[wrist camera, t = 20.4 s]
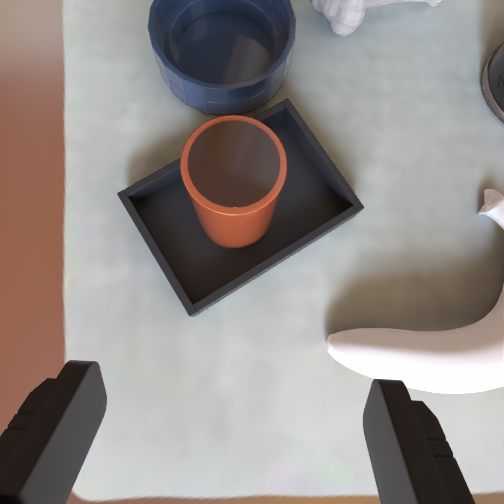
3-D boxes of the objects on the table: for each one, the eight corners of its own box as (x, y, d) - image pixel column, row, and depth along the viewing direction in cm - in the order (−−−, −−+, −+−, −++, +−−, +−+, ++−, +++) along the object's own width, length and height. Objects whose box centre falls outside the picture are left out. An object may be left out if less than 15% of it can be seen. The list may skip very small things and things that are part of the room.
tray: (284, 114, 31) (288, 97, 29) (354, 216, 30) (364, 207, 27) (126, 203, 29) (116, 193, 27) (193, 316, 28) (189, 316, 26)
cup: (247, 166, 30) (251, 95, 20) (285, 224, 29) (308, 179, 20) (185, 201, 29) (160, 145, 20) (223, 262, 28) (215, 235, 19)
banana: (336, 409, 27) (297, 221, 30) (562, 360, 29) (508, 188, 32) (360, 427, 22) (311, 201, 25) (629, 367, 24) (558, 164, 27)
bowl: (245, -16, 34) (245, -61, 30) (313, 79, 32) (323, 45, 28) (136, 38, 32) (121, -1, 28) (202, 141, 31) (196, 115, 27)
